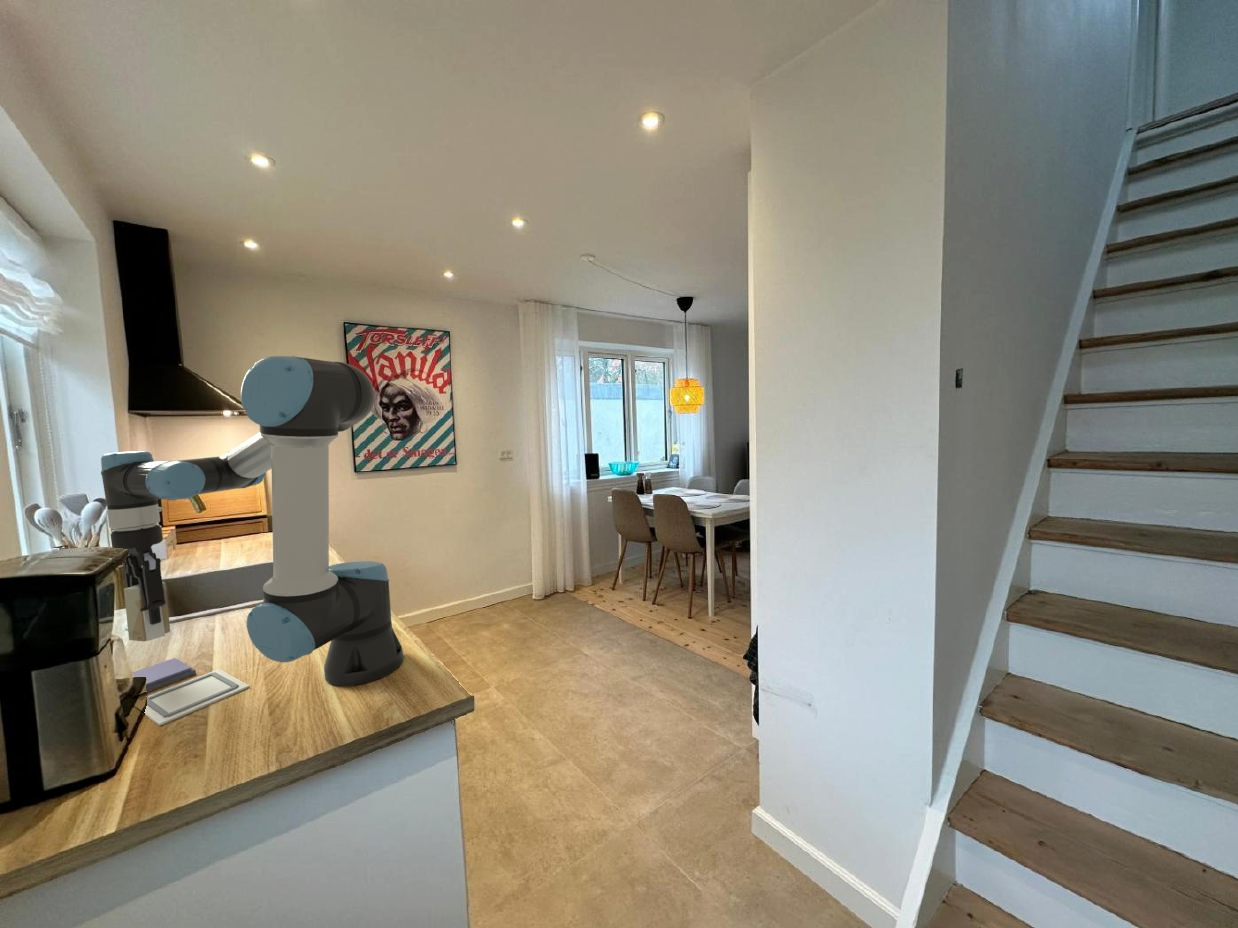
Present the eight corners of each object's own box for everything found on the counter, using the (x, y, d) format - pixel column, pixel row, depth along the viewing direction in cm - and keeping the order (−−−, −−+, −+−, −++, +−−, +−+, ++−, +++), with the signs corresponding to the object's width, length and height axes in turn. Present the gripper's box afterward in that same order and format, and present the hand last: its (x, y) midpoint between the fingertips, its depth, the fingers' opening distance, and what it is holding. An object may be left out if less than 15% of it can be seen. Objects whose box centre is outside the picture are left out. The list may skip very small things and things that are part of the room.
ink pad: (195, 673, 106) (195, 666, 105) (133, 697, 97) (132, 689, 97) (177, 663, 111) (176, 656, 110) (116, 684, 102) (115, 677, 102)
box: (144, 642, 100) (137, 590, 99) (128, 640, 101) (121, 588, 100) (172, 631, 105) (166, 581, 104) (157, 629, 106) (150, 580, 105)
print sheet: (249, 687, 99) (249, 683, 99) (159, 725, 87) (158, 722, 87) (218, 670, 107) (218, 667, 106) (131, 704, 95) (131, 701, 95)
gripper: (177, 527, 99) (191, 636, 101) (144, 519, 108) (157, 619, 111) (126, 535, 92) (142, 652, 95) (95, 526, 102) (110, 633, 104)
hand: (150, 634), depth 103 cm, fingers closed on box, 5 cm apart
